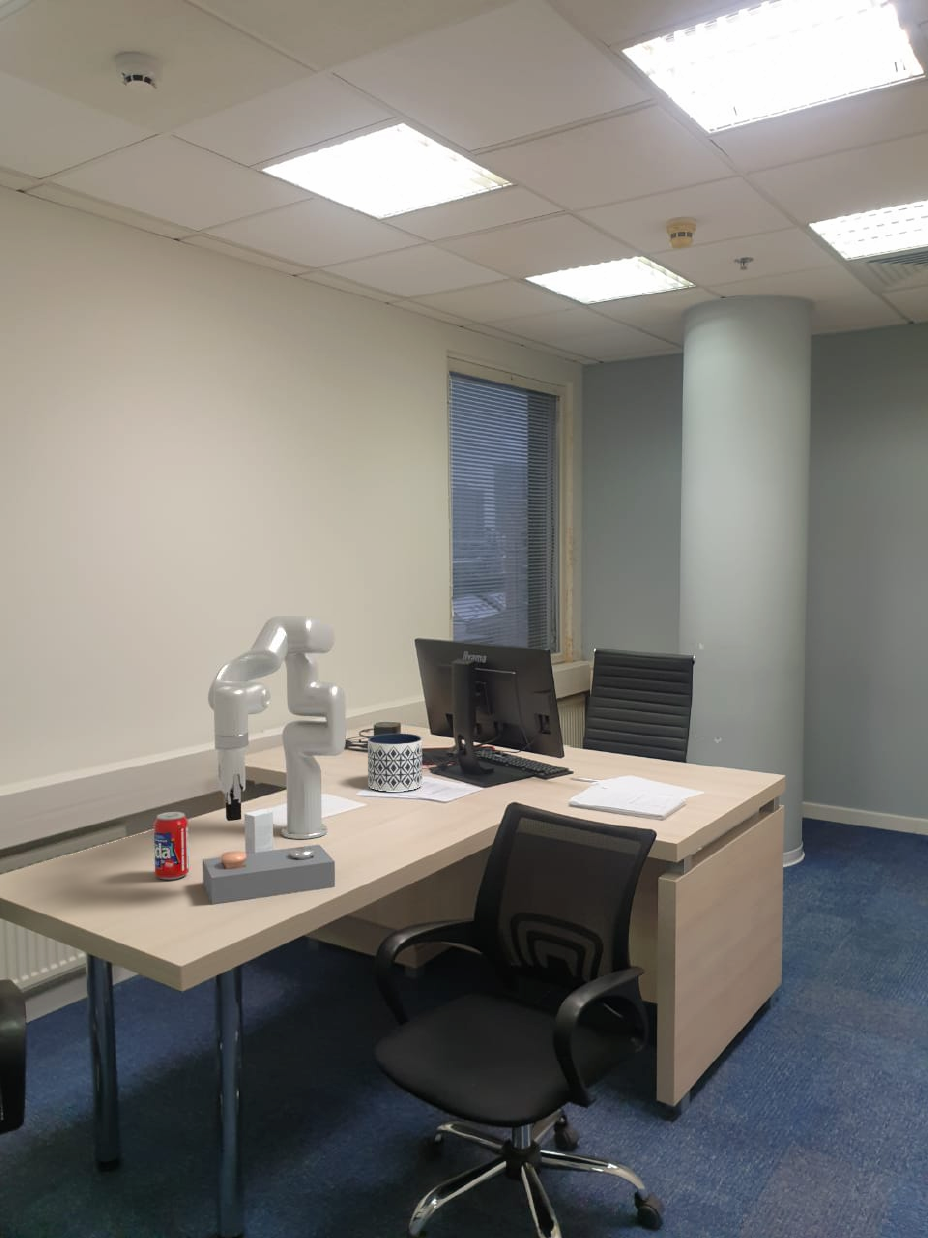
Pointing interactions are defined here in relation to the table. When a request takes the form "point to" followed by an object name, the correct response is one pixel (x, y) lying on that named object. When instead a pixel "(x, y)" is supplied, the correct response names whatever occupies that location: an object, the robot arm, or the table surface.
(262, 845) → the skincare box
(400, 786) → the planter
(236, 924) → the table surface
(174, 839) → the soda can
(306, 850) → the grey plunger
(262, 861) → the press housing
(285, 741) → the robot arm
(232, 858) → the peach dome knob
